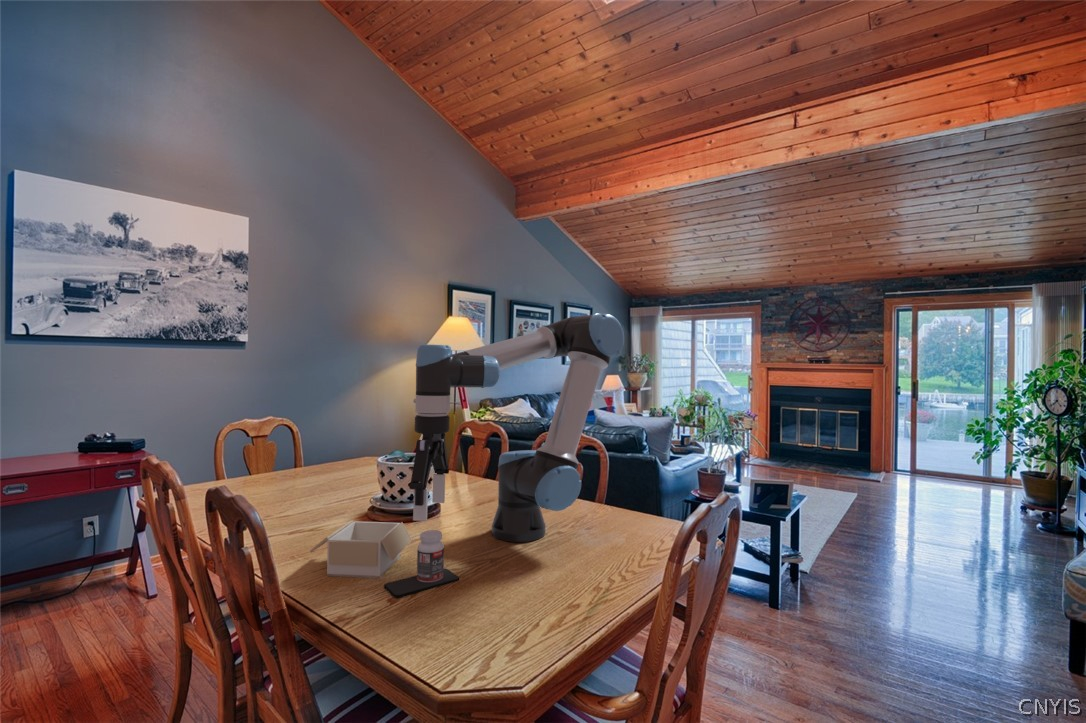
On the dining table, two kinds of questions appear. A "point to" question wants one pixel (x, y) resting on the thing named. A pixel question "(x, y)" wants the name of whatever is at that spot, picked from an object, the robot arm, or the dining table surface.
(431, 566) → the pill bottle
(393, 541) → the flap
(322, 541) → the flap
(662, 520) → the dining table surface
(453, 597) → the dining table surface
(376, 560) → the carton
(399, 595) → the smartphone
